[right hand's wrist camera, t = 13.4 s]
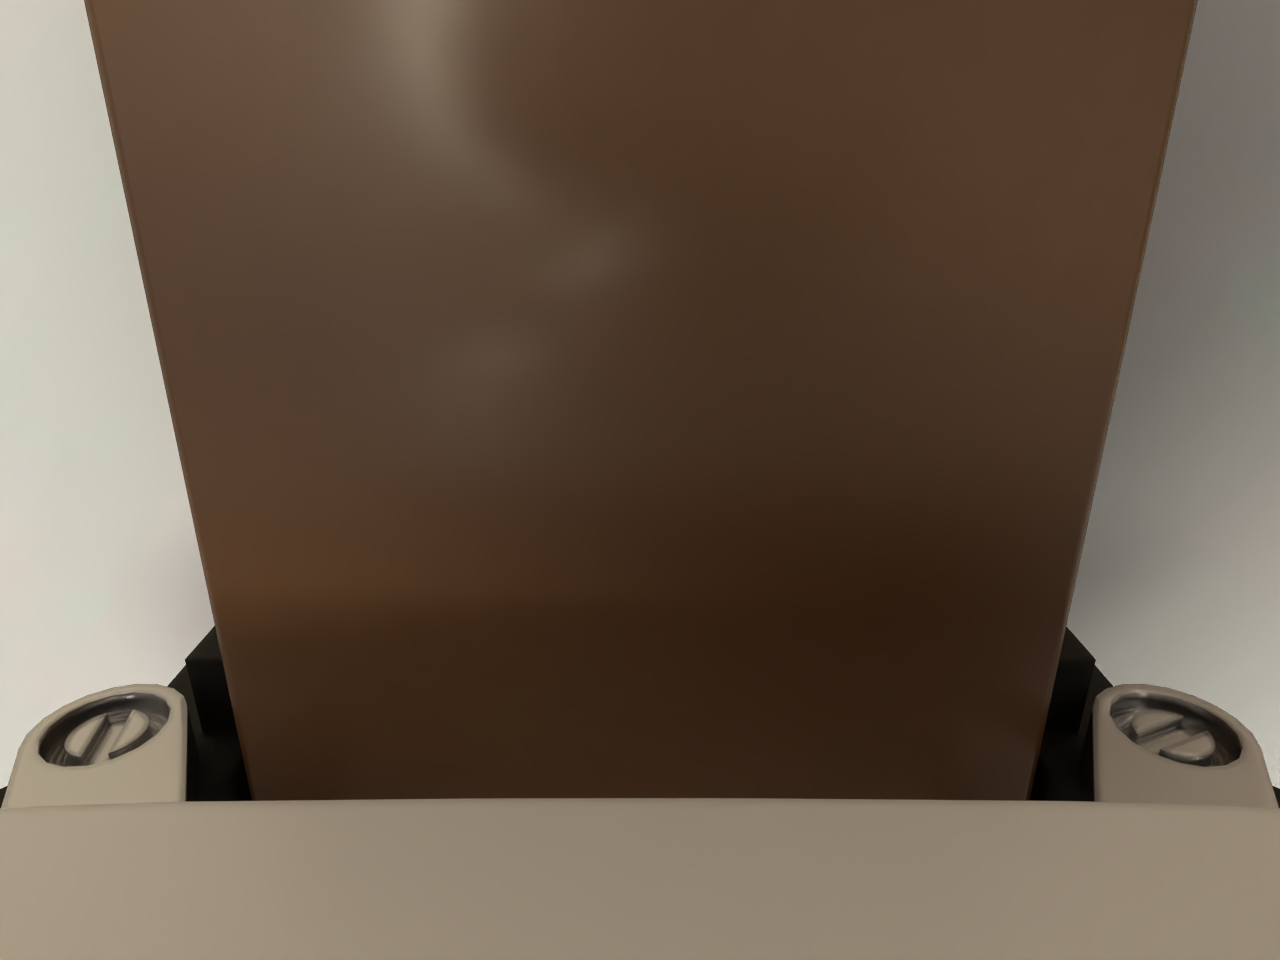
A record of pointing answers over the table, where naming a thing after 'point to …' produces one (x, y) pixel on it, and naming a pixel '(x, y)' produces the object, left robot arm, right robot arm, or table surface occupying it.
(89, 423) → the table surface
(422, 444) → the beam
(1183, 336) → the table surface
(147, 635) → the table surface
